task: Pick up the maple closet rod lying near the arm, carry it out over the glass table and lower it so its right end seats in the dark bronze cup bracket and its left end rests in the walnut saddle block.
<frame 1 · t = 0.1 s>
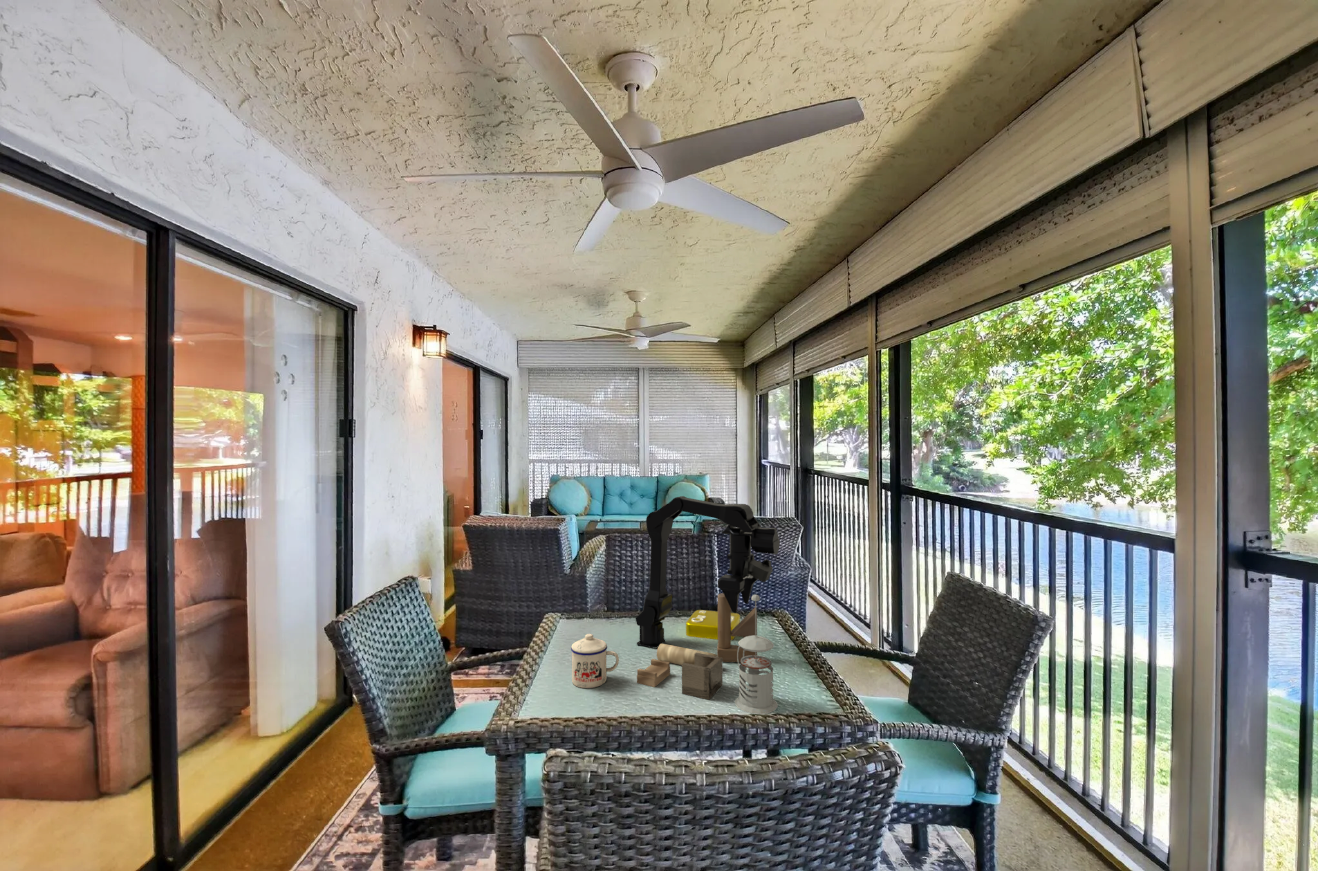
hand: (740, 607, 154), 15 cm above the table, fingers open, 9 cm apart
cup bracket: (702, 689, 136), on the table
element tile: (713, 632, 178), on the table
rod: (686, 665, 152), on the table
french press: (754, 702, 130), on the table
teacup with lid: (595, 681, 142), on the table
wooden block: (737, 660, 154), on the table
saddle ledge: (653, 678, 143), on the table
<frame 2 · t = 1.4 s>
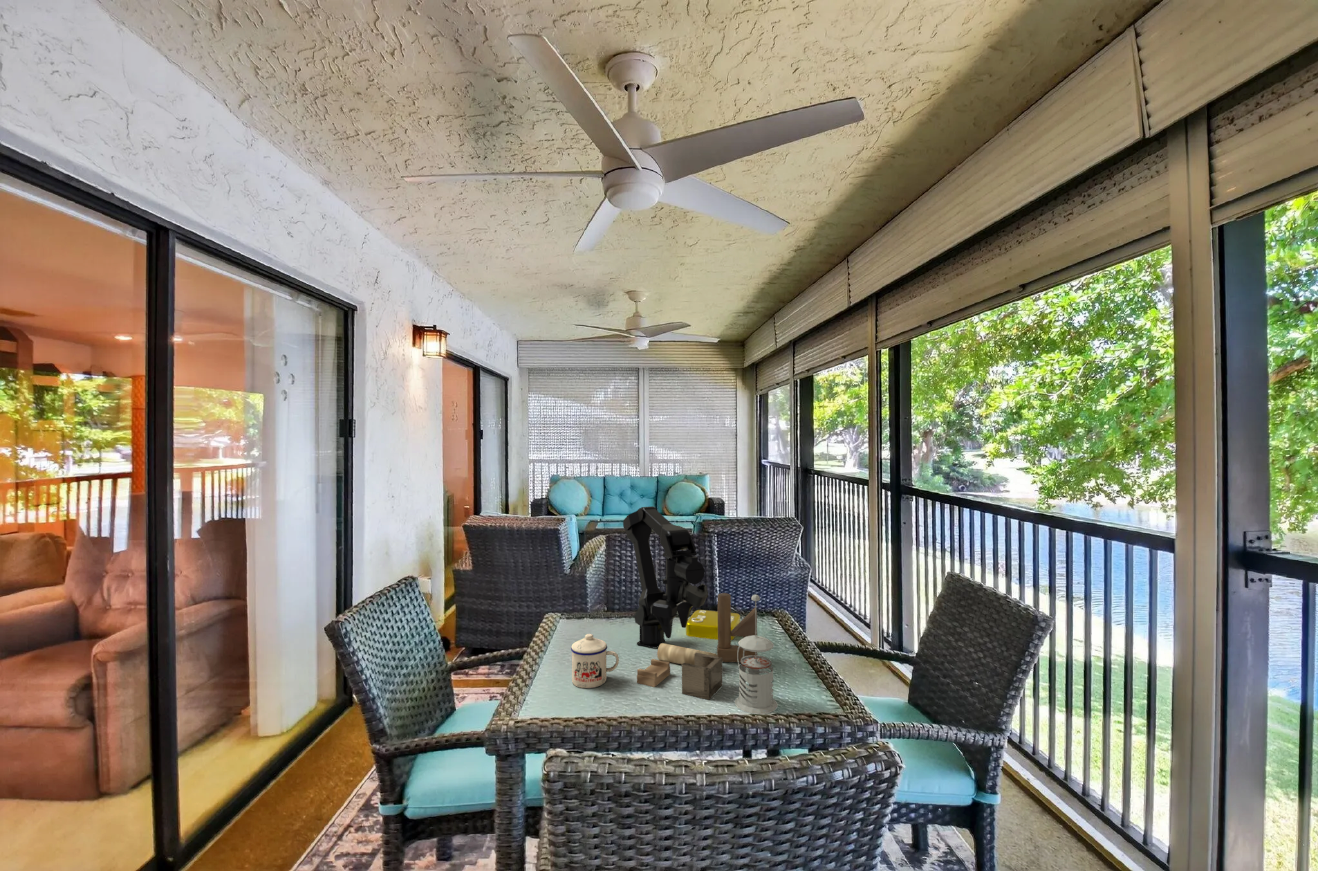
hand: (676, 632, 153), 8 cm above the table, fingers open, 9 cm apart
rod: (686, 665, 151), on the table, tilted 8°
everything else where it was.
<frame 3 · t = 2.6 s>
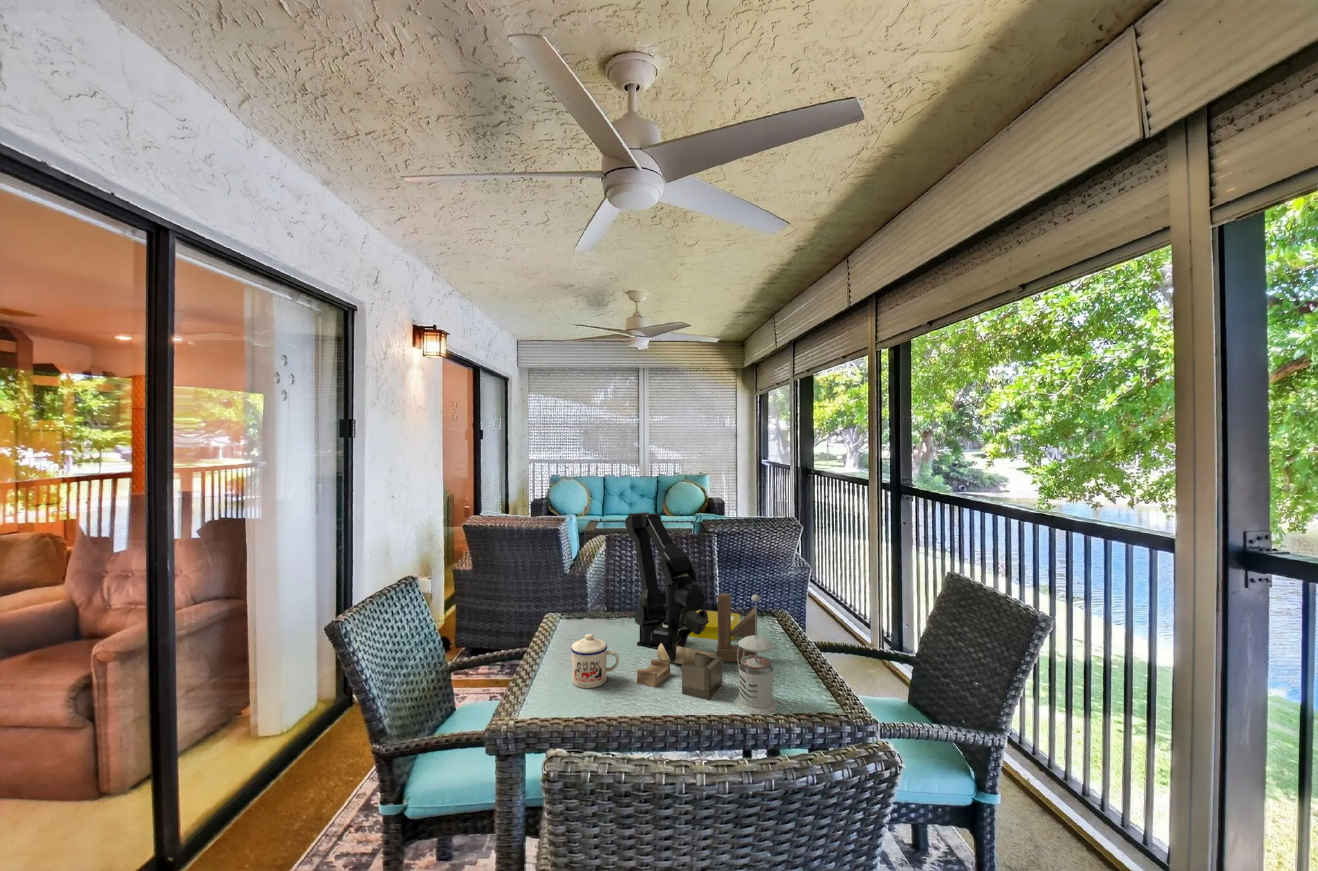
hand: (676, 658, 153), 1 cm above the table, fingers closed on rod, 4 cm apart
rod: (686, 664, 151), on the table, touching gripper
everything else where it was.
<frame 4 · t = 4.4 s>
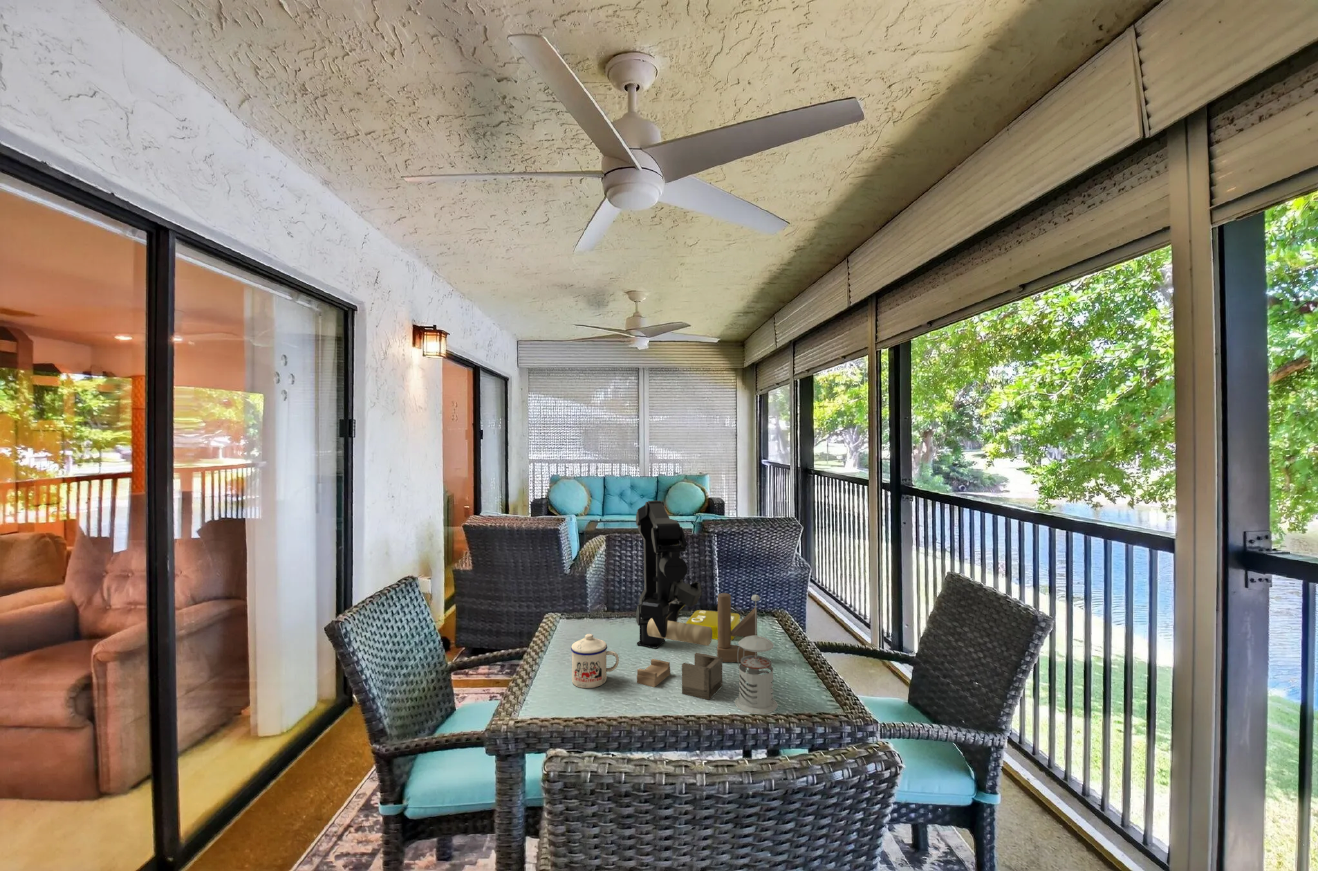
hand: (667, 634, 142), 11 cm above the table, fingers closed on rod, 4 cm apart
rod: (679, 640, 141), point 10 cm above the table, touching gripper
everything else where it was.
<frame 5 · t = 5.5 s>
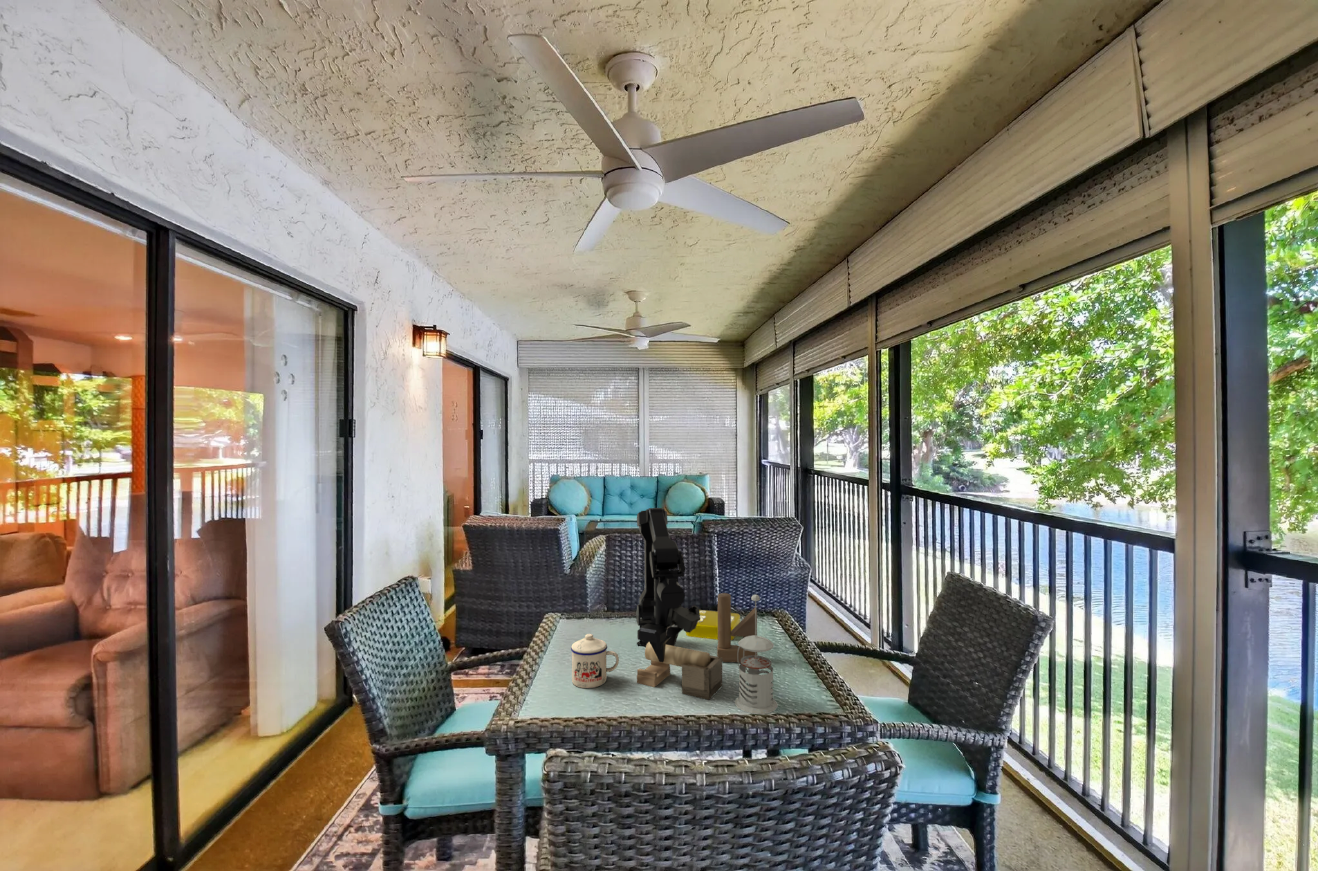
hand: (665, 658, 141), 6 cm above the table, fingers closed on rod, 4 cm apart
rod: (677, 665, 140), point 5 cm above the table, touching gripper
everything else where it was.
when the fingers open (4 cm above the table, at t = 6.3 s): rod stays where it is, resting on cup bracket, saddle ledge.
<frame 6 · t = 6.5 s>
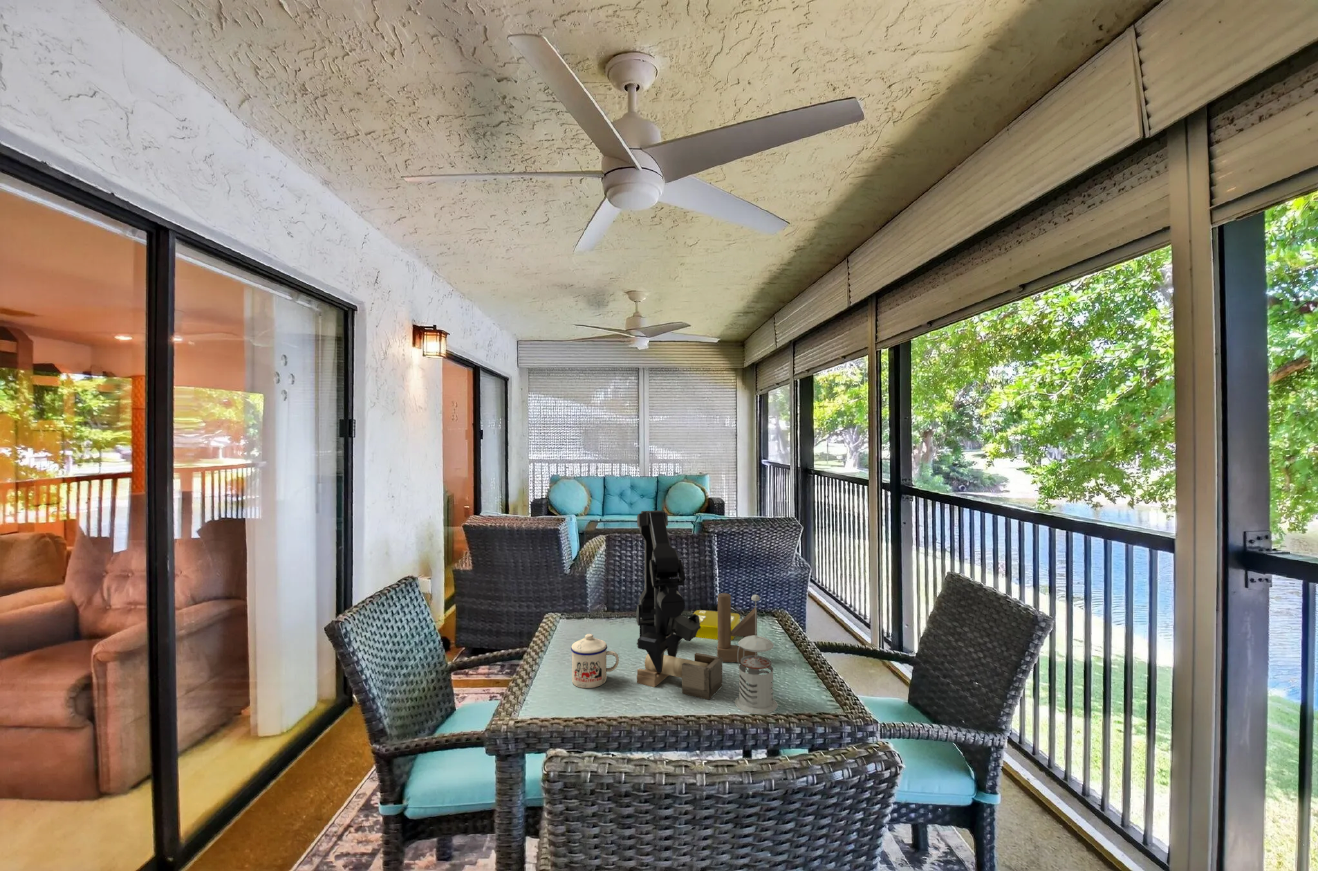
hand: (665, 667, 141), 4 cm above the table, fingers open, 7 cm apart
rod: (676, 675, 139), point 2 cm above the table, touching cup bracket, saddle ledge
everything else where it was.
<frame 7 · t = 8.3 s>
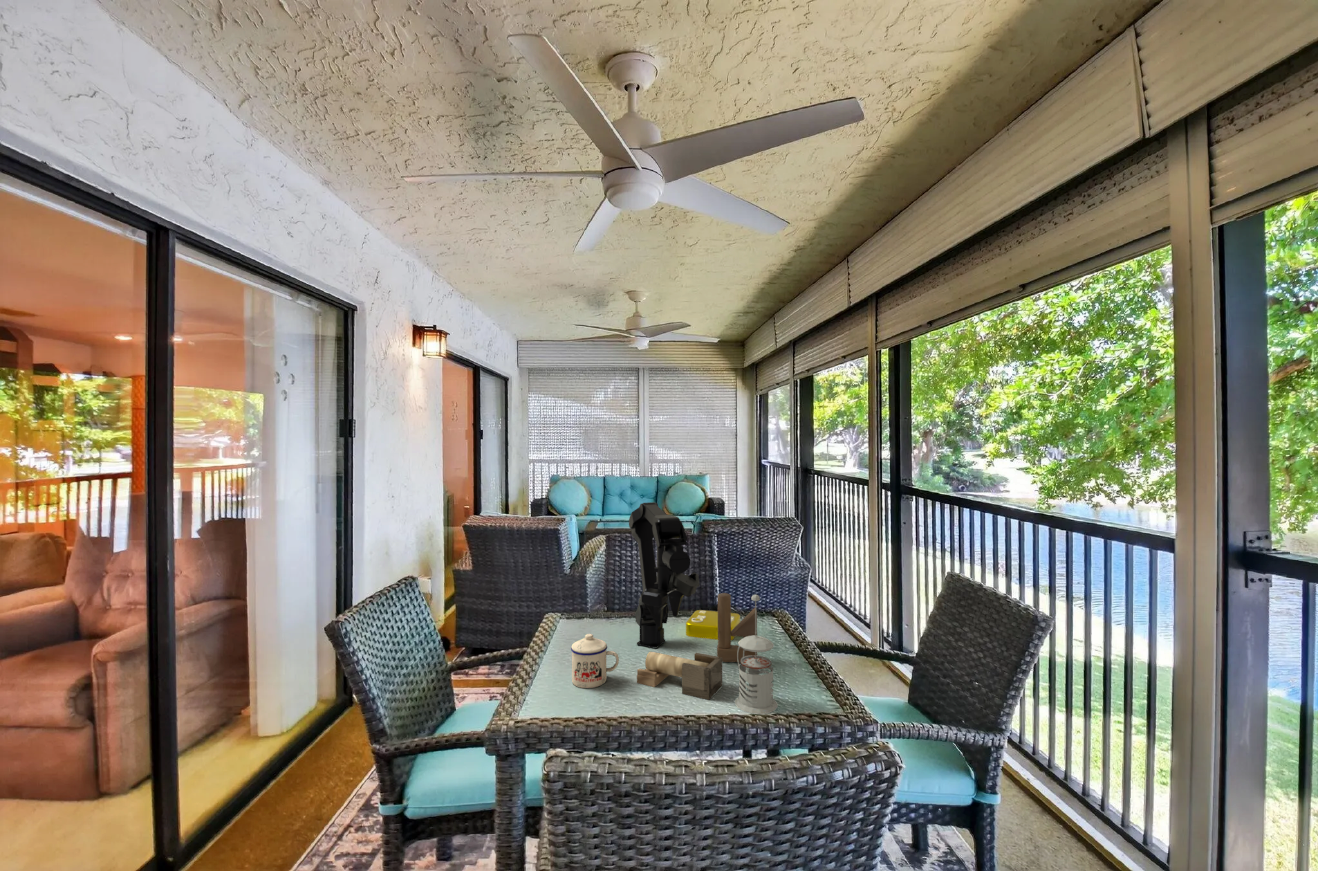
hand: (667, 621, 152), 12 cm above the table, fingers open, 9 cm apart
rod: (676, 675, 140), point 2 cm above the table, tilted 8°, touching cup bracket, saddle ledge
everything else where it was.
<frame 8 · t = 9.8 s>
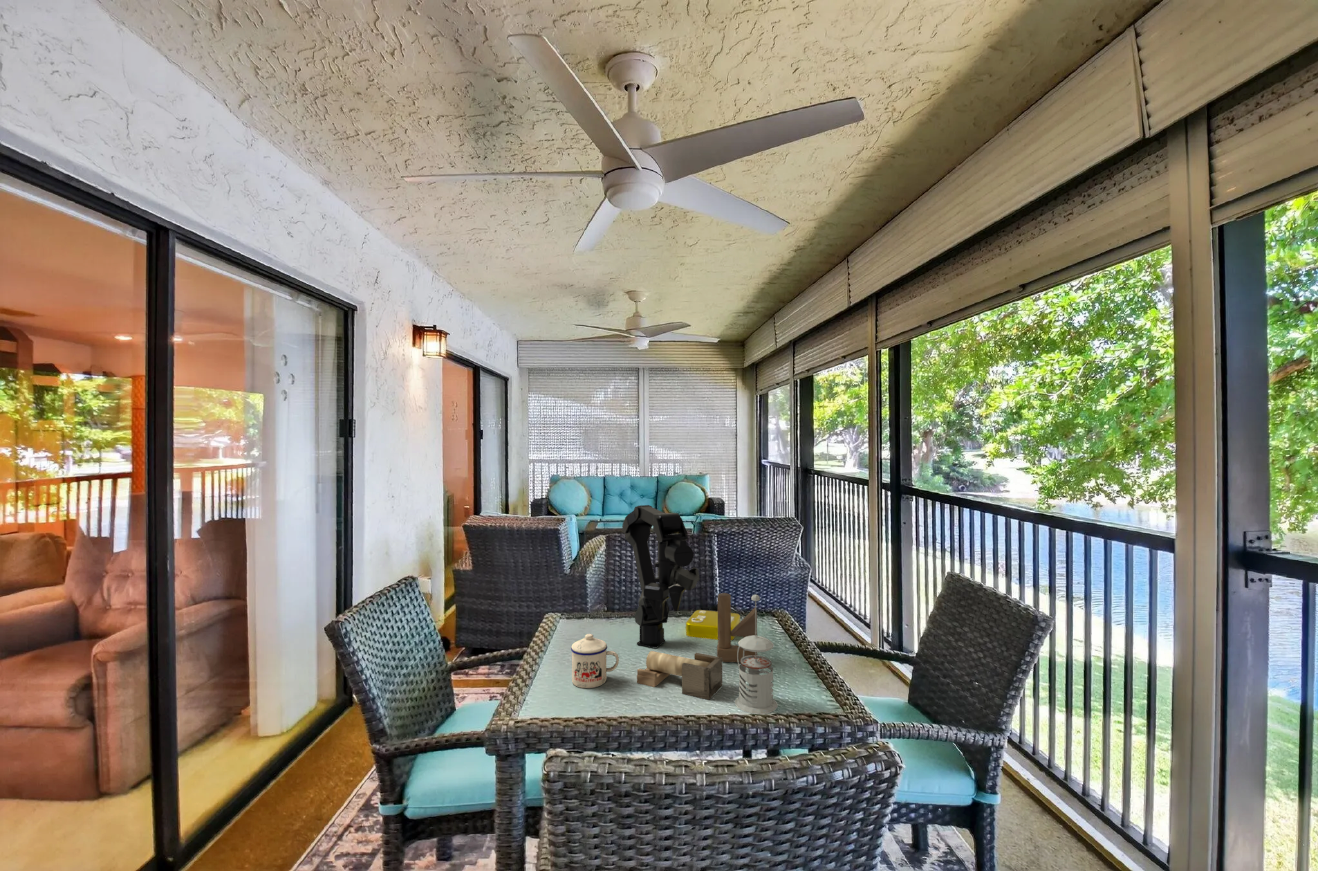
hand: (668, 615, 155), 12 cm above the table, fingers open, 9 cm apart
rod: (677, 675, 140), point 2 cm above the table, tilted 20°, touching cup bracket, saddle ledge
everything else where it was.
at the end: rod 0.1 cm from the target spot on the table beside the cup bracket, point 2.1 cm above the table; rod touching cup bracket, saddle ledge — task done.
